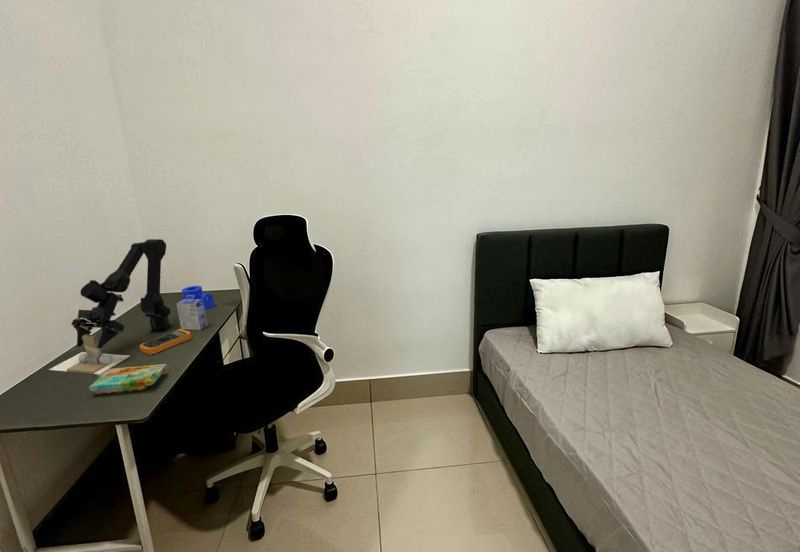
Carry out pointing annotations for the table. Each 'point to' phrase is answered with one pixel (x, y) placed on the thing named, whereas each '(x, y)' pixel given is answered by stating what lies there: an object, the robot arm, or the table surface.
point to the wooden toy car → (92, 349)
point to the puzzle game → (127, 379)
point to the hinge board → (82, 366)
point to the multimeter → (165, 341)
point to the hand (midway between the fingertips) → (88, 347)
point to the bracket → (199, 296)
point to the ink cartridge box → (192, 313)
